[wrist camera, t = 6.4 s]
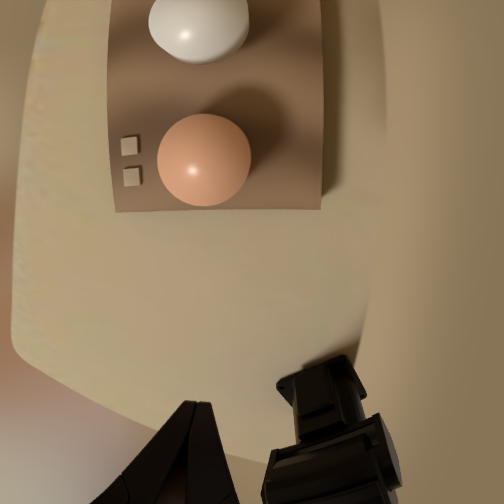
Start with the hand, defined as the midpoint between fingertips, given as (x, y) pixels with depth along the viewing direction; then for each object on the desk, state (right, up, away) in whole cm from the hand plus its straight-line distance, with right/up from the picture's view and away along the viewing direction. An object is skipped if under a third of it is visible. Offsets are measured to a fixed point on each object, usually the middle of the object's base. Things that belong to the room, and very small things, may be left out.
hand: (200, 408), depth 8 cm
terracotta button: (-1, +10, +7) cm, 12 cm away
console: (-1, +17, +6) cm, 18 cm away
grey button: (-1, +16, +3) cm, 16 cm away
